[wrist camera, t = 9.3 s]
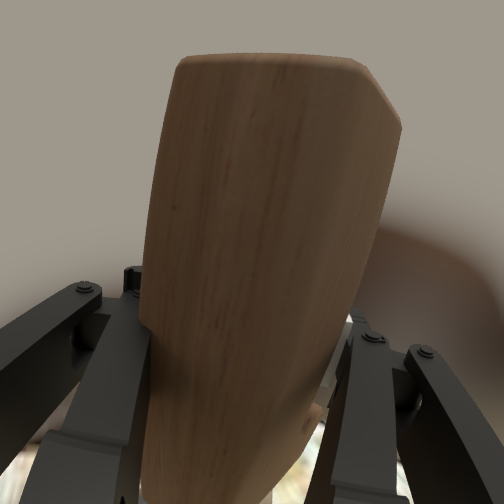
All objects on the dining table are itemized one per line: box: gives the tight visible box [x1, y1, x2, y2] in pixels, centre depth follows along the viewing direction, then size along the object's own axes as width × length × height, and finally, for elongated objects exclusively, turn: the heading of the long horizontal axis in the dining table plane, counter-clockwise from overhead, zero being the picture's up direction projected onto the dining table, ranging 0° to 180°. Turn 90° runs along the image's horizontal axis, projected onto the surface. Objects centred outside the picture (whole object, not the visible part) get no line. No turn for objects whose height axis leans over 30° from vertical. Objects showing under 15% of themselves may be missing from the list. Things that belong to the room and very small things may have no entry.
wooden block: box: [139, 53, 402, 504], centre depth 12 cm, size 9×4×18 cm, turn 146°
